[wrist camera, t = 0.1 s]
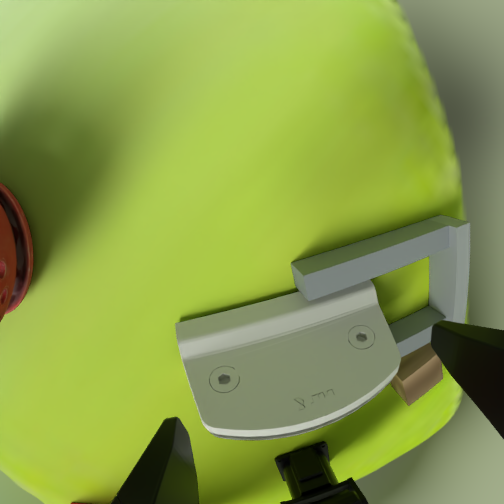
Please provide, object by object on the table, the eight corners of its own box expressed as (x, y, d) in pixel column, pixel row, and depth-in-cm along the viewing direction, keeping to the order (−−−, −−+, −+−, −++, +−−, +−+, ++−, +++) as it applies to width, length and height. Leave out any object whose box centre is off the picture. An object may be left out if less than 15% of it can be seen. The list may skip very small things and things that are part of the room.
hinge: (368, 270, 24) (430, 367, 17) (360, 304, 27) (409, 392, 20) (170, 324, 22) (187, 450, 15) (186, 353, 25) (206, 460, 18)
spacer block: (423, 361, 30) (443, 378, 26) (391, 385, 30) (408, 405, 26) (418, 333, 28) (439, 351, 24) (382, 360, 28) (402, 381, 24)
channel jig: (440, 314, 28) (463, 329, 24) (312, 372, 26) (327, 399, 23) (440, 214, 25) (469, 222, 21) (290, 262, 23) (308, 281, 19)
